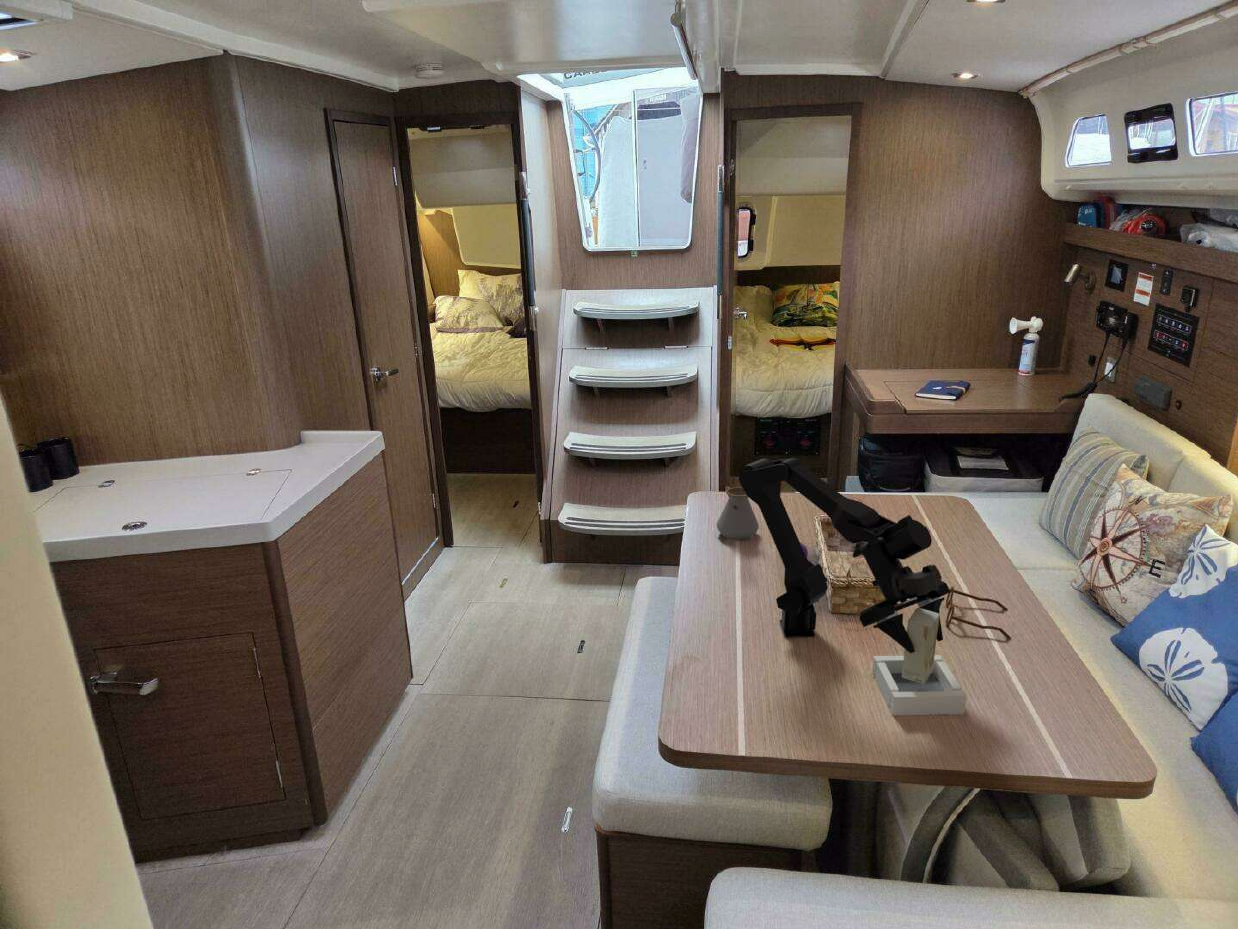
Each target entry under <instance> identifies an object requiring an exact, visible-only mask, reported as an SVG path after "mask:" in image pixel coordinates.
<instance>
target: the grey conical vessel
mask: <svg viewBox="0 0 1238 929" xmlns="http://www.w3.org/2000/svg"><path fill="white" fill-rule="evenodd" d="M725 493H726V495H727V496H728V500H727V502H726V504H725V505H724V508H723V510H722V512H721V513H720V516H719V517H718V520H717V522H716V528H717V530H718V531H719V533H720V534H721V535H723V537H724V538H726V539H727V540H731V541H736V542H737V541H739V542H741V541H746V540H749V539H751V538H752V537H753V536H754V535H755V534H756V533H757V532H758V530H759V527H760V525H759V522H758V519H757V517H756V514H755V512H754V511H753V507H752V505H751V503H750V501H749V497H748V496H747V495H746V493H745V491H744V490H743V488H742V486H741V487H739V486H736V487H734V486H733V487H731V488H728V489H726V490H725Z"/></svg>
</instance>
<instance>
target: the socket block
mask: <svg viewBox="0 0 1238 929" xmlns="http://www.w3.org/2000/svg"><path fill="white" fill-rule="evenodd" d="M903 661H904V655H874V656H873V659H872V666H871V667H872V668H871V675H872V677H873V676H874V677H873V678H874V679H875V680H874V681H875V683H876V685H877V687H878V689H879V691H880V693H881V695H882V697H883V700H884V701H885V703H886V706H887V707H888V709H889V711H890V713H891V716H936V715H937V714H939V716H941V715H940V714H949V715H964V714H965V709H966V702H967V694H966V693H965V692H964V690H962V686H961V685H960V684H959V682H958V680H957V679H956V677H955V676H954V675H953V673H952V671H951V669H950V668H949V667H948V665H947V663H946V662H945V661H944V659H943V657H942V656H941V655H940V654H935V655H934V663H933V669H932V672H931V674H930V676H929V677H928V679H927V681H926V682H925V684H921V683H918V682H914V681H911V680H908V679H905V678H902V669H903ZM929 714H931V715H929ZM935 714H936V715H935ZM937 716H938V715H937Z"/></svg>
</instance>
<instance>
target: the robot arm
mask: <svg viewBox="0 0 1238 929" xmlns="http://www.w3.org/2000/svg"><path fill="white" fill-rule="evenodd" d="M737 478H738V482H739V485H740V486H741V488H743V490H744V491H745V493H746V495H747V496H748V499H750V500H751V501H753V502H754V504H756V505H757V506H758V508H759V510H760V513H761V515H762V517H763V519H764V522H765V524H766V526H767V528H768V531H769V533H770V535H771V536H770V537H771V538H772V539H773V543H774V545H775V547H776V550H777V553H778V555H779V558H780V560H781V561H782V564H783V567H784V578H783V579H784V580H783V584H784V587H785V591H786V592H785V593H783V594H782V595H780V596H778V597H777V598H775V601H776V606H777V608H778V609H781V619H780V620H779V624H780V627H781V631H782V634H783V636H784V638H812V637H815V636H816V635H815V634H816V633H815V631H814V630H816V626H817V611H816V609H815V606H814V604H815V603H818V602H819V601H820V599H822V598H823V597H824V596H826V594H827V591H828V589H829V588H828V584H827V582H828V581H829V580H828V578H827V577H826V575H825V574H824V571H823V567H822V565H821V564H820V563H817V564H815V563H812V562H811V561H810V560H809V559H808V557H807V558H806V556H805V553H804V551H803V549H802V546H801V544H800V539H799V538H798V535H797V533H796V531H795V528H794V525H793V523H792V520H791V518H790V517H789V514H788V511H787V509H786V507H785V505H784V502H783V500H782V497H781V493H782V492H781V489H782V482H785V483H787V484H788V485H789V486H790V487H792V488H793V489H794V490H795V491H796V492H798V493H799V494H801V495H802V496H803V497H804V498H805V499H807V501H809V502H810V503H812V504H813V505H815V507H817V508H818V509H819V510H820V511H822V513H824V514H826V516H828V518H829V519H830V521H831V524H832V526H833V529H835V530H836V531H837V532H838V533H839V535H840V536H841V537H842V538H844V540H846V541H847V542H849V543H851V544H855V548H854V550H853V553H852V557H853V558H859V557H862V556H863V558H864V560H865V561H866V564H867V566H868V568H869V569H870V572H871V574H872V576H873V578H874V580H872V581H871V584H872V586H873V587H874V588H875V587H877V586H878V587H879V589H880V591H881V594H882V595H883V598H884V599H885V600H883V601H881V602H879V603H876V604H874V605H871V606H870V607H867V608H865V609H863V610H862V611H860V612H859V621H860V623H861V626H862V627H863V628H865V627H868V626H871V625H872V627H873V629H879V630H880V631H882V633H884V634H885V635H887V636H888V637H890V638H891V639H892V640H893V641H895V642H896V643H897V644H898V645H900V646H901V647H902V648H903V649H904V650H905V649H906V650H907V651H908V652H909V653H913V652H915V650H914V647H913V644H912V642H911V640H910V638H909V636H908V634H907V628H905V626H904V613H903V612H902V613H900V614H898V613H897V612H899V611H901V610H904V609H907V608H909V607H911V606H913V605H916V604H917V606H918V608H921V609H925V610H929V611H932V612H936V613H939V614H940V608H941V606H942V602H943V601H946V600H945V599H946V597H945V595H948V593H950V592H951V591H950V587H949V586H948V584H947V582H945V581H943V580H942V575H941V572H940V571H939V569H938V568H937V566H936V564H928V565H925V566H922V570H921V571H918V572H914V571H912V568H911V567H910V566H909V565H907V566H904V565H903V564H902V561H903V560H904V561H905V560H907V559H909V558H911V557H914V556H915V555H917V554H918V553H920V552H923V551H925V550H926V549H928V548H930V547H931V545H932V543H933V542H932V540H933V539H932V535H931V533H930V530H929V529H928V528H927V526H925V525H924V524H923V523H922V522H920V521H919V520H917V519H916V520H915V519H913V518H912V516H911V515H910V514H908V515H906V516H904V517H903V518H900V519H899V520H898V521H897V522H895V521H893V520H892V519H889V518H887V517H885V516H883V515H881V514H879V512H878V511H877V510H876V509H874V508H873V507H871V506H869V505H868V504H865V503H864V502H861V501H859V500H856V499H851V498H848V497H846V496H844V495H842V493H840V492H839V491H838V490H836V489H835V488H833V487H832V486H831V485H830V484H828V483H827V482H826V481H824V480H823V479H822V478H820V476H818V475H817V474H815V473H814V472H813V471H812V470H810V469H808V468H807V467H806V466H805V465H804V464H803V462H802V461H801V460H800V459H798V458H796V457H792V458H791V457H790V458H788V459H778V460H771V459H768V458H761V459H758V460H756V461H753V462H751V463H748V464H746V465H744V466H742V467H741V468H740V470H739V474H738V477H737ZM943 596H944V597H943ZM875 623H876V624H875ZM873 624H874V625H873ZM943 636H944V634H943V630H942V622H941V614H940V616H939V624H938V632H937V639H936V642H941V641H943V640H944V637H943Z"/></svg>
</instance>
